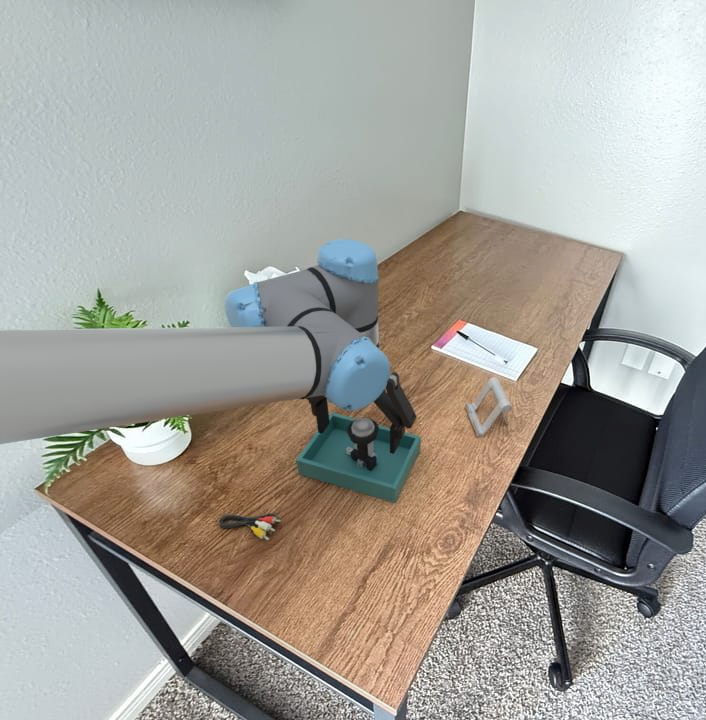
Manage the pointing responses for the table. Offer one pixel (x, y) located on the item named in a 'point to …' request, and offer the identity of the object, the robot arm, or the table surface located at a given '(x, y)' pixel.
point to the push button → (363, 442)
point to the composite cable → (253, 523)
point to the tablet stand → (501, 407)
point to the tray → (338, 468)
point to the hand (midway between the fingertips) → (359, 438)
